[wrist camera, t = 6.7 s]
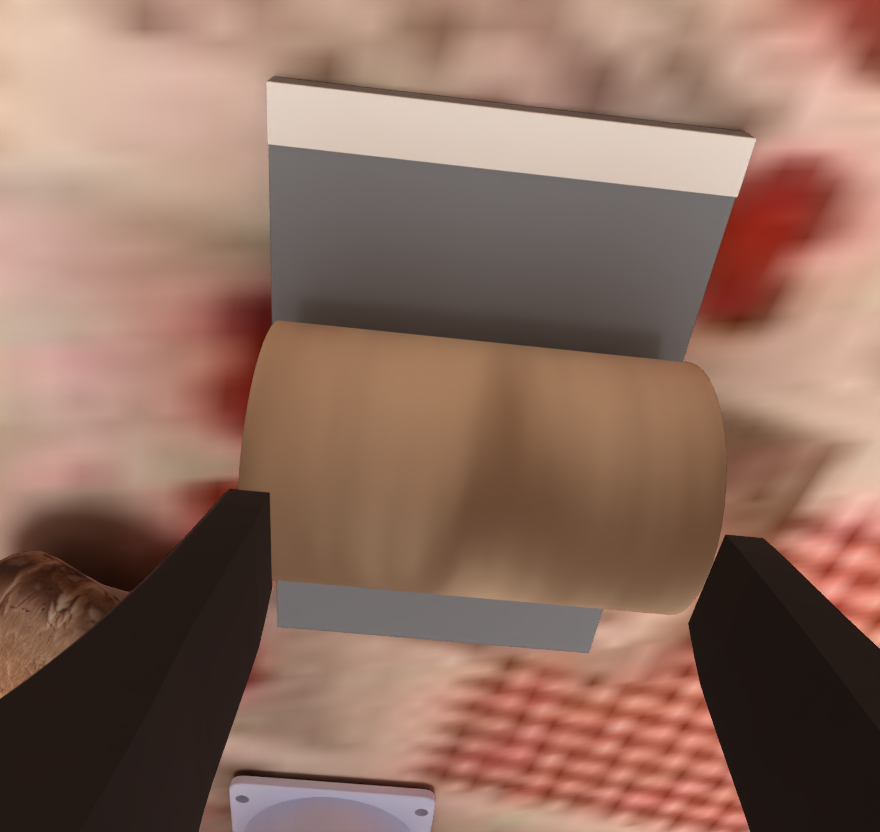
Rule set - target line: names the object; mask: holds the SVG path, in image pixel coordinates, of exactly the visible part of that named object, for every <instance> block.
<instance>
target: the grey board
mask: <svg viewBox="0 0 880 832" xmlns="http://www.w3.org/2000/svg"><path fill="white" fill-rule="evenodd" d="M266 87H267V139H268V144H269V190H270V243H271V296H272V325H273V324H274V322H276V321H278V320H279V321H289V322H299V323H309V324H319V325H328V326H338V327H348V328H358V329H367V330H377V331H387V332H397V333H406V334H416V335H426V336H435V337H445V338H455V339H465V340H474V341H484V342H494V343H504V344H513V345H523V346H533V347H543V348H552V349H562V350H572V351H582V352H591V353H601V354H611V355H621V356H630V357H640V358H650V359H660V360H669V361H679V362H683V359H684V356H685V353H686V349H687V346H688V343H689V340H690V337H691V334H692V331H693V328H694V325H695V321H696V318H697V315H698V312H699V309H700V306H701V303H702V300H703V297H704V293H705V290H706V287H707V284H708V281H709V278H710V275H711V272H712V269H713V266H714V262H715V259H716V256H717V253H718V250H719V247H720V244H721V241H722V238H723V234H724V231H725V228H726V225H727V222H728V219H729V216H730V213H731V210H732V207H733V203H734V200H735V197H738V194H739V191H740V188H741V185H742V182H743V178H744V175H745V172H746V169H747V166H748V163H749V160H750V157H751V154H752V151H753V148H754V144H755V141H756V138H754V137H753V136H751V135H749V134H748V133H746V132H744V131H735V130H727V129H718V128H710V127H701V126H693V125H684V124H676V123H667V122H658V121H650V120H641V119H633V118H624V117H616V116H607V115H599V114H590V113H581V112H573V111H564V110H556V109H547V108H539V107H530V106H522V105H513V104H505V103H496V102H487V101H479V100H470V99H462V98H453V97H445V96H436V95H428V94H419V93H410V92H402V91H393V90H385V89H376V88H368V87H359V86H351V85H342V84H333V83H325V82H316V81H308V80H299V79H291V78H282V77H272V78H271V79H270V80H268V81H267V82H266ZM602 610H603V609H598V608H587V607H575V606H564V605H552V604H541V603H530V602H518V601H507V600H495V599H484V598H472V597H461V596H449V595H438V594H427V593H415V592H404V591H392V590H381V589H369V588H358V587H346V586H335V585H324V584H312V583H301V582H289V581H278V580H277V615H278V627H285V628H297V629H309V630H321V631H333V632H344V633H356V634H368V635H380V636H392V637H403V638H415V639H427V640H439V641H451V642H463V643H474V644H486V645H498V646H510V647H522V648H533V649H545V650H557V651H569V652H581V653H589V651H590V648H591V644H592V641H593V638H594V635H595V632H596V629H597V626H598V623H599V620H600V617H601V613H602Z"/></svg>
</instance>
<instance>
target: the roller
mask: <svg viewBox="0 0 880 832" xmlns="http://www.w3.org/2000/svg"><path fill="white" fill-rule="evenodd" d="M726 474H727V463H726V443H725V432H724V426H723V419H722V414H721V410H720V406H719V402H718V399H717V396H716V393H715V390H714V388H713V386H712V384H711V382H710V380H709V378H708V377H707V375H706V374H705V372H704V371H703V370H702V369H701V368H700V367H699V366H697V365H695V364H693V363H689V362H679V361H669V360H660V359H650V358H640V357H630V356H621V355H611V354H601V353H591V352H582V351H572V350H562V349H552V348H543V347H533V346H523V345H513V344H504V343H494V342H484V341H474V340H465V339H455V338H445V337H435V336H426V335H416V334H406V333H397V332H387V331H377V330H367V329H358V328H348V327H338V326H328V325H319V324H309V323H299V322H289V321H279V320H278V321H276V322H274V324H273V325H272V326H271V327H270V329H269V331H268V333H267V335H266V337H265V340H264V342H263V345H262V348H261V351H260V353H259V357H258V360H257V364H256V368H255V371H254V376H253V380H252V384H251V389H250V394H249V400H248V405H247V411H246V417H245V424H244V431H243V439H242V448H241V457H240V469H239V483H238V490H248V491H259V492H270V523H271V565H272V580H278V581H289V582H301V583H312V584H324V585H335V586H346V587H358V588H369V589H381V590H392V591H404V592H415V593H427V594H438V595H449V596H461V597H472V598H484V599H495V600H507V601H518V602H530V603H541V604H552V605H564V606H575V607H587V608H598V609H610V610H621V611H632V612H644V613H655V614H667V615H674V614H678V613H680V612H682V611H684V610H685V609H686V608H688V607H689V606H690V605H691V603H692V602H693V601H694V600H695V599H696V597H697V595H698V594H699V592H700V591H701V589H702V587H703V585H704V583H705V581H706V579H707V577H708V574H709V571H710V568H711V566H712V563H713V560H714V556H715V553H716V549H717V546H718V541H719V536H720V532H721V527H722V520H723V513H724V506H725V495H726Z"/></svg>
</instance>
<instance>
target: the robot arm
mask: <svg viewBox="0 0 880 832" xmlns="http://www.w3.org/2000/svg"><path fill="white" fill-rule="evenodd" d="M271 590H272V565H271V523H270V492H259V491H248V490H237V489H229V490H228V491H227V492H225V493H224V494H223V495H222V496H221V497H220V498H219V500H218V501H217V502H216V503H215V504H214V505H213V506H212V508H211V509H210V510H209V511H208V512H207V513H206V514H205V516H204V517H203V518H202V519H201V520H200V521H199V522H198V523H197V525H196V526H195V527H194V528H193V529H192V530H191V531H190V532H189V533H188V534H187V535H186V536H185V538H184V539H183V540H182V541H181V542H180V543H179V544H178V545H177V546H176V547H175V548H174V549H173V550H172V551H171V552H170V553H169V554H168V555H167V556H166V557H165V558H164V559H163V560H162V561H161V562H160V563H159V564H158V565H157V566H156V568H155V569H154V570H153V571H152V572H151V573H150V574H149V575H148V576H147V577H146V578H145V579H144V580H143V581H142V582H141V583H140V584H138V585H137V586H136V587H135V588H134V589H133V590H132V591H131V592H130V593H129V594H128V595H127V596H126V597H124V598H123V599H122V600H121V601H120V602H119V603H118V604H117V605H116V606H115V607H113V608H112V609H111V610H110V611H109V612H108V613H107V614H106V615H105V616H104V617H103V618H101V619H100V620H99V621H98V622H97V623H96V624H95V625H94V626H93V627H91V628H90V629H89V630H88V631H87V632H85V633H84V634H83V635H82V636H81V637H80V638H78V639H77V640H76V641H75V642H74V643H72V644H71V645H70V646H69V647H68V648H66V649H65V650H64V651H63V652H61V653H60V654H59V655H58V656H56V657H55V658H54V659H52V660H51V661H50V662H49V663H47V664H46V665H45V666H44V667H42V668H41V669H40V670H38V671H37V672H36V673H35V674H33V675H32V676H31V677H29V678H28V679H27V680H25V681H24V682H22V683H21V684H20V685H18V686H17V687H15V688H14V689H13V690H11V691H10V692H9V693H7V694H6V695H4V696H3V697H2V698H0V832H199V827H200V823H201V819H202V815H203V812H204V809H205V805H206V802H207V799H208V795H209V792H210V789H211V785H212V782H213V779H214V776H215V774H216V771H217V768H218V765H219V762H220V759H221V756H222V753H223V750H224V748H225V745H226V742H227V739H228V736H229V733H230V730H231V727H232V724H233V722H234V719H235V716H236V713H237V710H238V707H239V704H240V701H241V698H242V696H243V693H244V690H245V687H246V684H247V681H248V678H249V675H250V672H251V669H252V666H253V663H254V660H255V657H256V654H257V651H258V648H259V645H260V640H261V636H262V631H263V627H264V623H265V618H266V613H267V609H268V604H269V599H270V595H271ZM688 625H689V630H690V636H691V641H692V646H693V652H694V657H695V662H696V667H697V671H698V676H699V680H700V685H701V688H702V691H703V694H704V697H705V700H706V703H707V706H708V709H709V712H710V715H711V718H712V721H713V724H714V727H715V730H716V733H717V736H718V739H719V742H720V745H721V747H722V750H723V753H724V756H725V759H726V762H727V765H728V768H729V771H730V774H731V776H732V779H733V782H734V785H735V788H736V791H737V794H738V797H739V800H740V802H741V805H742V808H743V811H744V814H745V817H746V820H747V823H748V826H749V829H750V832H880V649H879V648H878V647H877V646H876V645H875V644H874V643H873V642H872V641H871V640H870V639H869V638H868V637H866V636H865V635H864V634H863V633H862V632H861V631H860V630H859V629H858V628H857V627H856V626H855V625H854V624H853V623H852V622H851V621H850V620H848V619H847V618H846V617H845V616H844V615H843V614H842V613H841V612H840V611H839V610H838V609H837V608H836V607H835V606H834V605H833V604H832V603H831V602H830V601H829V600H828V599H827V598H826V597H825V596H824V595H823V594H822V593H821V592H820V591H818V590H817V589H816V588H815V587H814V586H813V585H812V584H811V583H810V582H809V581H808V580H807V579H806V578H805V577H804V576H803V575H802V574H801V573H800V572H799V571H798V570H797V569H796V568H795V567H794V566H793V565H792V564H791V563H790V562H789V561H788V560H786V559H785V558H784V557H783V556H782V555H781V554H780V553H779V552H778V551H777V550H776V549H775V548H774V547H773V546H771V545H770V544H769V543H768V542H767V541H766V540H765V539H763V538H756V537H745V536H735V535H725V537H724V539H723V542H722V544H721V546H720V549H719V551H718V554H717V556H716V558H715V561H714V563H713V566H712V568H711V570H710V573H709V575H708V578H707V580H706V582H705V585H704V587H703V590H702V592H701V594H700V597H699V599H698V602H697V604H696V606H695V609H694V611H693V614H692V616H691V618H690V621H689V623H688ZM229 795H230V807H231V818H232V830H233V832H431V827H432V821H433V816H434V810H435V802H436V797H435V794H434V793H433V792H432V791H430V790H426V789H416V788H403V787H390V786H376V785H363V784H350V783H337V782H324V781H310V780H297V779H284V778H271V777H258V776H244V775H243V776H237V777H234V778H233V779H232V781H231V784H230V788H229Z"/></svg>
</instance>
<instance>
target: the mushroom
mask: <svg viewBox="0 0 880 832" xmlns="http://www.w3.org/2000/svg"><path fill="white" fill-rule="evenodd" d="M130 592H131V591H129V592H127V591H123V590H120V589H116V588H113V587H110V586H106V585H103V584H101V583H99V582H97V581H96V580H94V579H92V578H90V577H88V576H86V575H85V574H83V573H81V572H80V571H78V570H77V569H75V568H73V567H72V566H70V565H69V564H67V563H66V562H64V561H62V560H61V559H59V558H57V557H54V556H52V555H49V554H47V553H44V552H42V551H28V552H23V553H17V554H12V555H10V556H8V557H6V558H5V559H3V560H1V561H0V698H2V697H3V696H4V695H6V694H7V693H9V692H10V691H11V690H13V689H14V688H15V687H17V686H18V685H20V684H21V683H22V682H24V681H25V680H27V679H28V678H29V677H31V676H32V675H33V674H35V673H36V672H37V671H38V670H40V669H41V668H42V667H44V666H45V665H46V664H47V663H49V662H50V661H51V660H52V659H54V658H55V657H56V656H58V655H59V654H60V653H61V652H63V651H64V650H65V649H66V648H68V647H69V646H70V645H71V644H72V643H74V642H75V641H76V640H77V639H78V638H80V637H81V636H82V635H83V634H84V633H85V632H87V631H88V630H89V629H90V628H91V627H93V626H94V625H95V624H96V623H97V622H98V621H99V620H100V619H101V618H103V617H104V616H105V615H106V614H107V613H108V612H109V611H110V610H111V609H112V608H113V607H115V606H116V605H117V604H118V603H119V602H120V601H121V600H122V599H123V598H124V597H126V596H127V595H128V594H129V593H130Z"/></svg>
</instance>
